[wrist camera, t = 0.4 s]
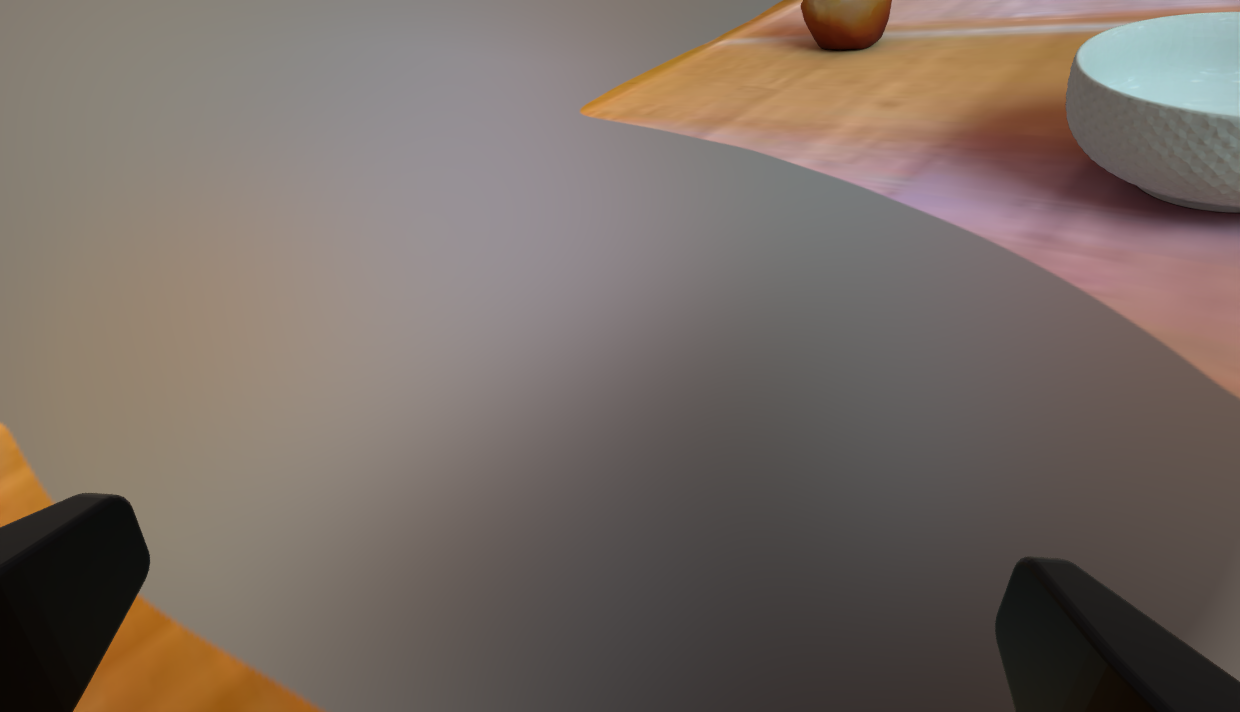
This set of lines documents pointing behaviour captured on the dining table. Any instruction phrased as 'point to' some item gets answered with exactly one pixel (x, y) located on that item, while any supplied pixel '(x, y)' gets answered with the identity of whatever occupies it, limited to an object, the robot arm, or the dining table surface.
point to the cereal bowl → (1164, 107)
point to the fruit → (846, 22)
